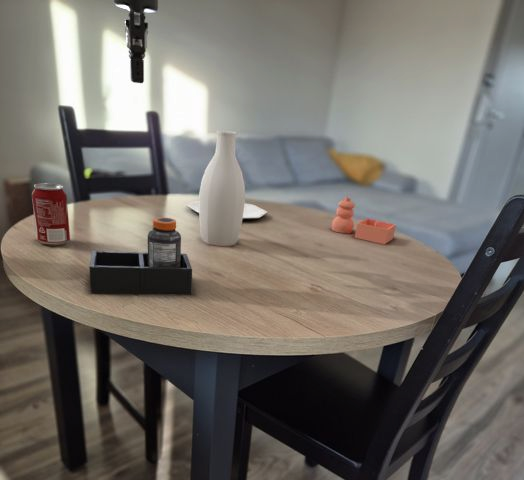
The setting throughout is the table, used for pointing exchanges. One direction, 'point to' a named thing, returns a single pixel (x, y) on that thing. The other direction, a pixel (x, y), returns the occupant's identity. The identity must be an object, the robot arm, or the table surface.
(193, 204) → the plate
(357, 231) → the pottery
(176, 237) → the pill bottle
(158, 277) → the bottle rack
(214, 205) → the bottle
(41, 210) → the soda can
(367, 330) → the table surface
